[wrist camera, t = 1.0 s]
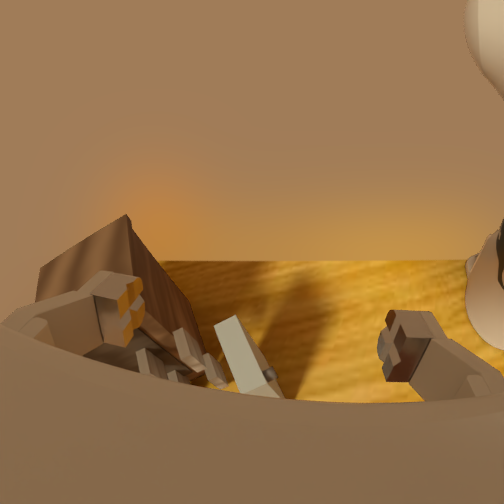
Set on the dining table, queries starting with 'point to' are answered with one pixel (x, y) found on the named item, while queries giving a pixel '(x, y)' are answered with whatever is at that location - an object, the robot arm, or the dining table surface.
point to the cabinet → (156, 307)
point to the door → (246, 360)
